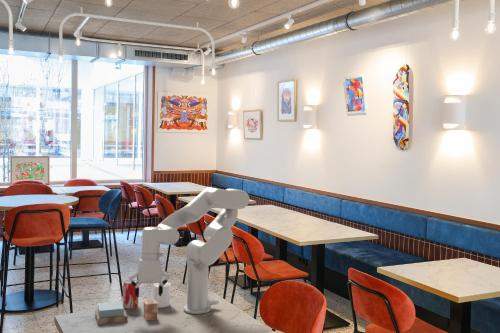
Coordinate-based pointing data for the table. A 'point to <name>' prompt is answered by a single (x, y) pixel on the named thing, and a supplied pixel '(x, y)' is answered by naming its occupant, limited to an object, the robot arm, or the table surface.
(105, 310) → the top block
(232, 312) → the table surface
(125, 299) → the soda can
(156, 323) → the table surface
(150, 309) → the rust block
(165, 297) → the white cup
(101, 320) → the base block
